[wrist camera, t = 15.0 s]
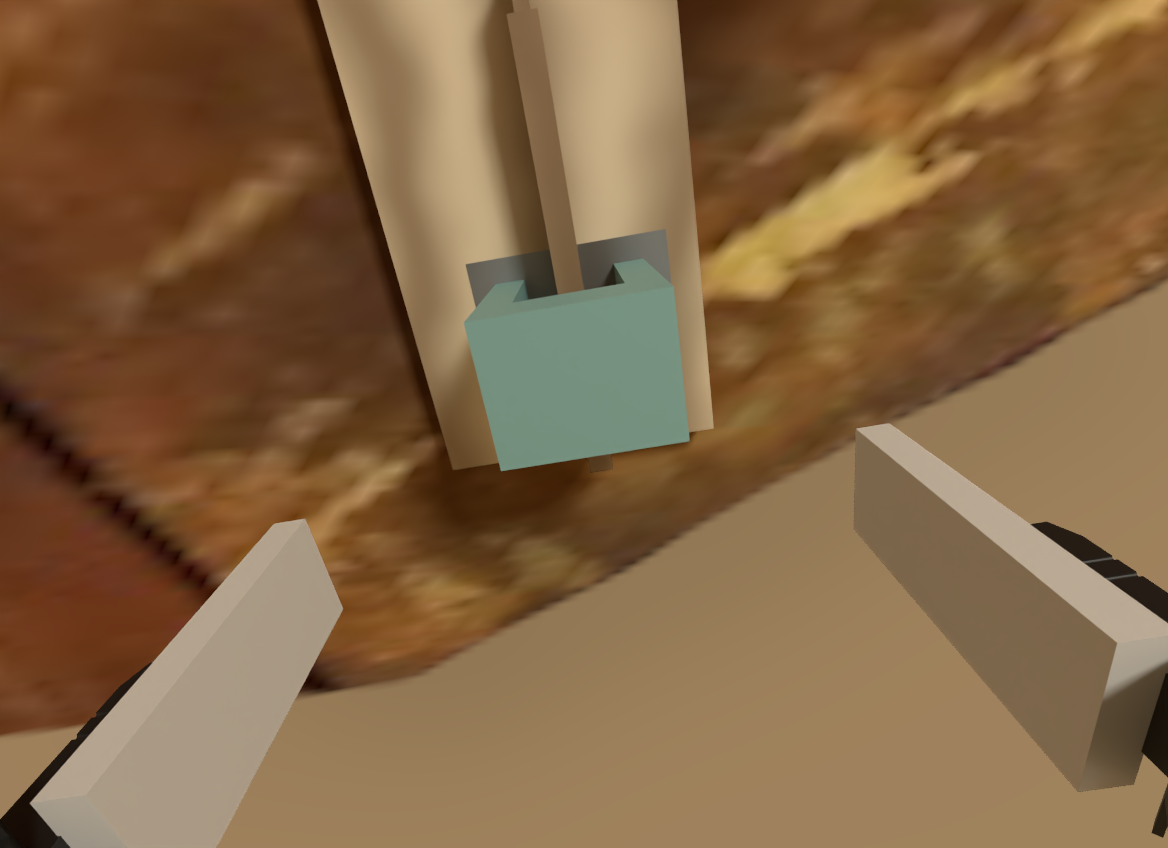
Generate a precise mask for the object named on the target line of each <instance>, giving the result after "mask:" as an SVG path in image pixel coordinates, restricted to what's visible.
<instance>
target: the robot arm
mask: <svg viewBox="0 0 1168 848" xmlns="http://www.w3.org/2000/svg"><path fill="white" fill-rule="evenodd" d="M854 491H855V492H854V530H855V531H856V532H857V533H858V535H859V536H860V537H861V538H862V539H863V540H864V542H866V544H867V545H868V546H869V547H870V549H871V550H872V551H873V552H874V553H875V554H876V556H877V557H878V558H879V559H880V560H881V561H882V563H883V564H884V565H885V566H886V567H887V569H888V570H889V571H890V572H891V573H892V574H893V575H894V577H895V578H896V579H897V580H898V581H899V582H900V584H901V585H902V586H903V587H904V589H905V590H906V591H907V592H908V593H909V594H910V596H911V597H912V598H913V599H914V600H915V601H916V603H917V604H918V605H919V606H920V607H921V608H922V610H923V611H924V612H925V613H926V614H927V615H928V617H929V618H930V619H931V620H932V621H933V623H934V624H935V625H936V626H937V627H938V628H939V630H940V631H941V632H942V633H943V634H944V635H945V637H946V638H947V639H948V640H949V641H950V642H951V644H952V645H953V646H954V647H955V648H956V650H958V652H959V653H960V654H961V655H962V656H963V658H964V659H965V660H966V661H967V662H968V664H969V665H970V666H971V667H972V668H973V669H974V671H975V672H976V673H977V674H978V675H979V676H980V678H981V679H982V680H983V681H984V682H985V683H986V685H987V686H988V687H989V688H990V689H991V691H992V692H993V693H994V694H995V695H996V696H997V698H998V699H999V700H1000V701H1001V702H1002V703H1003V705H1004V706H1005V707H1006V708H1007V709H1008V711H1009V712H1010V713H1011V714H1012V715H1013V716H1014V718H1015V719H1016V720H1017V721H1018V722H1019V723H1020V725H1021V726H1022V727H1023V728H1024V729H1025V730H1026V732H1027V733H1028V734H1029V735H1030V736H1031V737H1032V739H1033V740H1034V741H1035V742H1036V743H1037V745H1038V746H1039V747H1040V748H1041V749H1042V750H1043V751H1044V753H1045V754H1046V755H1047V756H1048V757H1049V759H1050V760H1051V761H1052V762H1053V763H1054V764H1055V766H1056V767H1057V768H1058V769H1059V770H1060V772H1061V773H1062V774H1063V775H1064V776H1065V777H1066V779H1067V780H1068V781H1069V782H1070V783H1071V784H1072V786H1073V787H1074V788H1075V789H1076V790H1077V791H1078V792H1083V791H1089V790H1097V789H1105V788H1112V787H1119V786H1126V785H1133V784H1134V782H1135V779H1136V776H1137V773H1138V770H1139V766H1140V763H1141V760H1142V757H1143V754H1144V755H1145V756H1147V758H1148V759H1150V760H1151V761H1152V762H1153V763H1154V764H1155V765H1156V766H1157V767H1158V768H1159V769H1160V770H1161V771H1162V772H1163V773H1164V774H1165V775H1166V776H1167V777H1168V593H1167V592H1165V591H1164V590H1162V589H1161V588H1160V587H1158V586H1157V585H1155V584H1154V583H1152V582H1151V581H1149V580H1148V579H1146V578H1145V577H1143V576H1141V577H1138V576H1137V574H1136V571H1134V570H1133V569H1131V568H1130V567H1128V566H1127V565H1125V564H1123V563H1122V562H1121V561H1119V560H1114V559H1113V558H1112V555H1110V554H1109V553H1107V552H1106V551H1104V550H1103V549H1101V548H1100V547H1098V546H1097V545H1095V544H1094V543H1092V542H1091V541H1089V540H1088V539H1086V538H1085V537H1083V536H1081V535H1078V534H1076V533H1073V532H1071V531H1069V530H1066V529H1064V528H1061V527H1059V526H1056V525H1054V524H1051V523H1049V522H1042V523H1036V524H1029V523H1027V522H1026V521H1025V520H1023V519H1022V518H1020V517H1019V516H1018V515H1016V514H1015V513H1013V512H1012V511H1011V510H1009V509H1008V508H1006V507H1005V506H1004V505H1002V504H1001V503H1000V502H998V501H996V500H995V499H994V498H992V497H991V496H990V495H988V494H987V493H986V492H984V491H983V490H981V489H980V488H979V487H977V486H976V485H974V484H973V483H972V482H970V481H969V480H967V479H966V478H965V477H963V476H962V475H960V474H959V473H958V472H956V471H955V470H954V469H952V468H951V467H949V466H948V465H947V464H945V463H944V462H942V461H941V460H940V459H938V458H937V457H935V456H934V455H933V454H931V453H930V452H929V451H927V450H926V449H924V448H923V447H922V446H920V445H919V444H917V443H916V442H915V441H913V440H912V439H910V438H909V437H908V436H906V435H905V434H903V433H902V432H901V431H899V430H898V429H896V428H895V427H894V426H892V425H891V424H890V423H888V424H882V425H876V426H870V427H864V428H858V429H856V447H855V490H854ZM342 610H343V607H342V605H341V603H340V600H339V598H338V595H337V593H336V591H335V588H334V586H333V584H332V581H331V579H330V577H329V574H328V572H327V569H326V567H325V565H324V562H323V560H322V558H321V555H320V553H319V550H318V548H317V546H316V543H315V541H314V539H313V536H312V534H311V531H310V529H309V527H308V524H307V522H306V520H305V519H300V520H294V521H288V522H282V523H276V524H274V525H273V526H272V527H271V528H270V529H269V530H268V531H267V533H266V534H265V535H264V536H263V537H262V538H261V539H260V541H259V542H258V543H257V544H256V545H255V546H254V547H253V549H252V550H251V551H250V552H249V553H248V554H247V555H246V557H245V558H244V559H243V560H242V561H241V562H240V563H239V565H238V566H237V567H236V568H235V569H234V570H233V571H232V573H231V574H230V575H229V576H228V577H227V578H226V579H225V581H224V582H223V583H222V584H221V585H220V586H219V587H218V589H217V590H216V591H215V592H214V593H213V594H212V595H211V597H210V598H209V599H208V600H207V601H206V602H205V603H204V605H203V606H202V607H201V608H200V609H199V610H198V611H197V613H196V614H195V615H194V616H193V617H192V618H191V619H190V621H189V622H188V623H187V624H186V625H185V626H184V627H183V629H182V630H181V631H180V632H179V633H178V634H177V635H176V637H175V638H174V639H173V640H172V641H171V642H170V643H169V645H168V646H167V647H166V648H165V649H164V650H163V651H162V653H161V654H160V655H159V656H158V657H157V658H156V659H155V661H154V662H153V663H149V664H148V665H147V666H145V667H144V668H143V669H142V670H140V671H139V672H138V673H136V674H135V675H134V676H133V677H131V678H130V679H129V680H128V681H126V682H125V683H124V684H122V685H121V686H120V687H119V688H118V689H117V690H116V691H115V692H114V693H113V695H112V696H111V697H110V698H109V699H108V700H107V701H106V702H105V703H104V705H103V706H102V707H101V708H100V709H99V710H98V711H97V712H96V714H97V715H96V717H94V718H91V719H90V720H89V721H88V722H87V724H86V725H85V726H84V727H83V728H82V729H81V730H80V731H79V732H78V734H77V738H76V739H75V740H71V741H70V742H69V744H68V745H67V746H66V747H65V748H64V749H63V750H62V751H61V753H60V754H59V755H58V756H57V757H56V758H55V759H54V760H53V761H52V762H51V764H50V765H49V766H48V767H47V768H46V769H45V770H44V771H43V772H42V774H41V775H40V776H39V777H38V778H37V779H36V780H35V782H33V784H32V785H31V786H30V787H29V788H28V789H27V790H26V791H25V793H24V794H23V795H22V796H21V797H20V798H19V799H18V800H17V801H16V802H15V804H14V805H13V806H12V807H11V808H10V809H9V810H8V812H7V813H6V814H5V815H4V816H3V817H2V818H1V819H0V848H216V847H217V845H218V843H219V842H220V840H221V838H222V836H223V834H224V832H225V830H226V828H227V827H228V825H229V823H230V821H231V819H232V817H233V815H234V813H235V812H236V810H237V808H238V806H239V804H240V802H241V800H242V798H243V796H244V795H245V793H246V791H247V789H248V787H249V785H250V783H251V781H252V780H253V778H254V776H255V774H256V772H257V770H258V768H259V766H260V764H261V763H262V761H263V759H264V757H265V755H266V753H267V751H268V749H269V747H270V746H271V744H272V742H273V740H274V738H275V736H276V734H277V732H278V730H279V729H280V727H281V725H282V723H283V721H284V719H285V717H286V716H287V714H288V712H289V710H290V708H291V706H292V704H293V702H294V701H295V699H296V697H297V695H298V693H299V691H300V689H301V687H302V685H303V684H304V682H305V680H306V678H307V676H308V674H309V672H310V670H311V669H312V667H313V665H314V663H315V661H316V659H317V657H318V655H319V653H320V652H321V650H322V648H323V646H324V644H325V642H326V640H327V638H328V637H329V635H330V633H331V631H332V629H333V627H334V625H335V623H336V621H337V620H338V618H339V616H340V614H341V612H342ZM1167 826H1168V785H1167V788H1166V790H1165V793H1164V796H1163V799H1162V802H1161V805H1160V807H1159V810H1158V813H1157V816H1156V819H1155V822H1154V826H1153V830H1152V833H1153V834H1156V835H1158V836H1160V837H1163V836H1164V834H1165V831H1166V828H1167Z"/></svg>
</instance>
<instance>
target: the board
mask: <svg viewBox="0 0 1168 848" xmlns="http://www.w3.org/2000/svg"><path fill="white" fill-rule="evenodd" d="M317 1H318V4H319V8H320V11H321V15H322V18H323V22H324V25H325V29H326V32H327V36H328V39H329V43H330V46H331V49H332V53H333V56H334V60H335V63H336V67H337V70H338V74H339V77H340V81H341V84H342V88H343V91H344V95H345V98H346V101H347V105H348V108H349V112H350V115H351V119H352V122H353V126H354V129H355V133H356V136H357V140H358V143H359V146H360V150H361V153H362V157H363V160H364V164H365V167H366V171H367V174H368V178H369V181H370V185H371V188H372V191H373V195H374V198H375V202H376V205H377V209H378V212H379V216H380V219H381V223H382V226H383V230H384V233H385V237H386V240H387V243H388V247H389V250H390V254H391V257H392V261H393V264H394V268H395V271H396V275H397V278H398V282H399V285H400V288H401V292H402V295H403V299H404V302H405V306H406V309H407V313H408V316H409V320H410V323H411V327H412V330H413V333H414V337H415V340H416V344H417V347H418V351H419V354H420V358H421V361H422V365H423V368H424V372H425V375H426V379H427V382H428V385H429V389H430V392H431V396H432V399H433V403H434V406H435V410H436V413H437V417H438V420H439V424H440V427H441V430H442V434H443V437H444V441H445V444H446V448H447V451H448V455H449V458H450V462H451V465H452V469H453V470H458V469H464V468H470V467H477V466H483V465H489V464H495V463H499V461H498V457H497V453H496V449H495V445H494V441H493V437H492V433H491V429H490V425H489V421H488V417H487V413H486V409H485V405H484V401H483V398H482V394H481V390H480V386H479V382H478V378H477V374H476V370H475V366H474V362H473V358H472V354H471V350H470V346H469V342H468V338H467V334H466V330H465V326H464V322H465V320H466V319H467V318H468V317H469V316H470V314H471V313H472V312H473V311H474V310H475V308H476V307H477V306H478V305H479V304H480V302H481V301H482V300H483V299H484V298H485V296H486V295H487V294H488V293H489V292H490V290H491V289H492V288H493V287H494V286H495V284H500V283H506V282H512V281H517V280H523V279H525V283H526V288H527V293H528V297H529V300H530V299H536V298H542V297H548V296H554V295H559V294H565V293H571V292H577V291H582V290H588V289H594V288H600V287H605V286H611V285H616V278H615V271H614V264H615V263H620V262H626V261H632V260H637V259H644V260H645V261H647V262H648V263H649V264H650V265H651V266H652V267H653V268H654V269H655V270H656V271H657V272H659V273H660V274H661V275H662V276H663V277H664V278H665V279H666V280H667V281H668V282H669V283H671V284H672V285H673V286H674V294H675V303H676V313H677V323H678V332H679V342H680V351H681V361H682V371H683V380H684V390H685V399H686V409H687V419H688V428H689V432H694V431H701V430H707V429H713V428H714V427H713V415H712V403H711V391H710V380H709V368H708V356H707V345H706V333H705V321H704V309H703V298H702V286H701V274H700V263H699V251H698V239H697V228H696V216H695V204H694V192H693V181H692V169H691V157H690V146H689V134H688V122H687V110H686V99H685V87H684V75H683V64H682V52H681V40H680V28H679V17H678V5H677V0H317ZM588 462H589V467H590V473H593V472H599V471H606V470H612V469H613V463H612V456H611V454H606V455H600V456H594V457H588Z"/></svg>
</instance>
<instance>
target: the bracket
mask: <svg viewBox="0 0 1168 848" xmlns="http://www.w3.org/2000/svg"><path fill="white" fill-rule="evenodd" d="M614 271H615V278H616V285H611V286H605V287H600V288H594V289H588V290H582V291H577V292H571V293H565V294H559V295H554V296H548V297H542V298H536V299H530V300H529V297H528V293H527V288H526V283H525V279H523V280H517V281H512V282H506V283H500V284H495V286H494V287H493V288H492V289H491V290H490V292H489V293H488V294H487V295H486V296H485V298H484V299H483V300H482V301H481V302H480V304H479V305H478V306H477V307H476V308H475V310H474V311H473V312H472V313H471V314H470V316H469V317H468V318H467V319H466V320H465V322H464V326H465V330H466V334H467V338H468V342H469V346H470V350H471V354H472V358H473V362H474V366H475V370H476V374H477V378H478V382H479V386H480V390H481V394H482V398H483V401H484V405H485V409H486V413H487V417H488V421H489V425H490V429H491V433H492V437H493V441H494V445H495V449H496V453H497V457H498V461H499V465H500V469H501V471H506V470H512V469H519V468H525V467H531V466H537V465H544V464H550V463H556V462H562V461H569V460H575V459H581V458H588V457H594V456H600V455H606V454H613V453H619V452H625V451H631V450H638V449H644V448H650V447H656V446H663V445H669V444H675V443H681V442H688V441H690V438H689V428H688V419H687V409H686V399H685V390H684V380H683V371H682V361H681V351H680V342H679V332H678V323H677V313H676V303H675V294H674V286H673V285H672V284H671V283H669V282H668V281H667V280H666V279H665V278H664V277H663V276H662V275H661V274H660V273H659V272H657V271H656V270H655V269H654V268H653V267H652V266H651V265H650V264H649V263H648V262H647V261H645V260H644V259H637V260H632V261H626V262H620V263H615V264H614Z"/></svg>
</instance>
